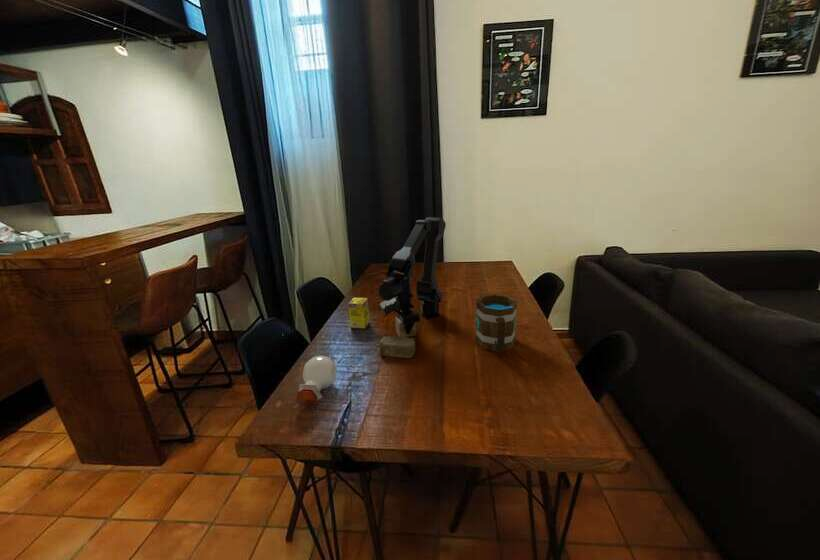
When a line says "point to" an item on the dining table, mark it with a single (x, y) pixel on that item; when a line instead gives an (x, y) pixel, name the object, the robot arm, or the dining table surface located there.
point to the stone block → (397, 347)
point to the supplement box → (359, 313)
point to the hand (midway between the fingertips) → (405, 330)
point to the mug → (496, 322)
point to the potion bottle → (315, 380)
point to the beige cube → (403, 328)
